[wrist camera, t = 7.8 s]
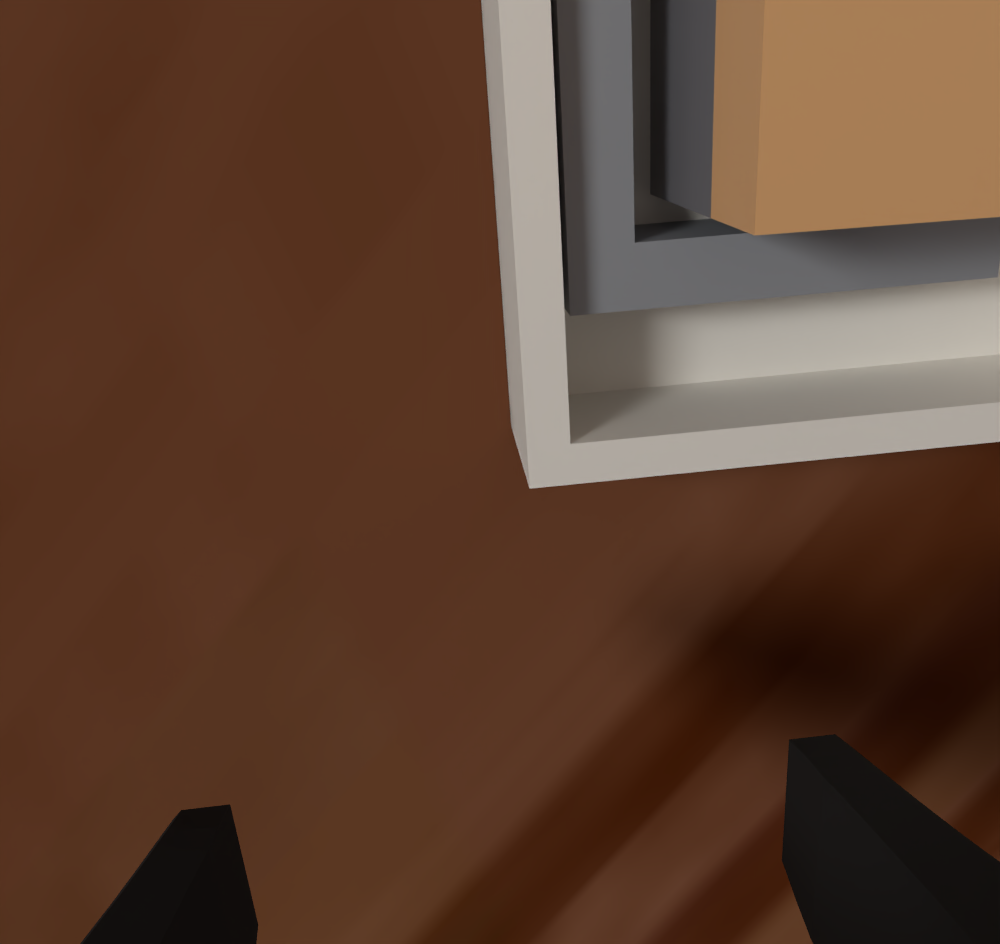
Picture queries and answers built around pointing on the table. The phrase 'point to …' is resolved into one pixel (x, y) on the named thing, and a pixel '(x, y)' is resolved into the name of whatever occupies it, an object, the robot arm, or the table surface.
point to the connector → (826, 111)
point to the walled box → (704, 289)
